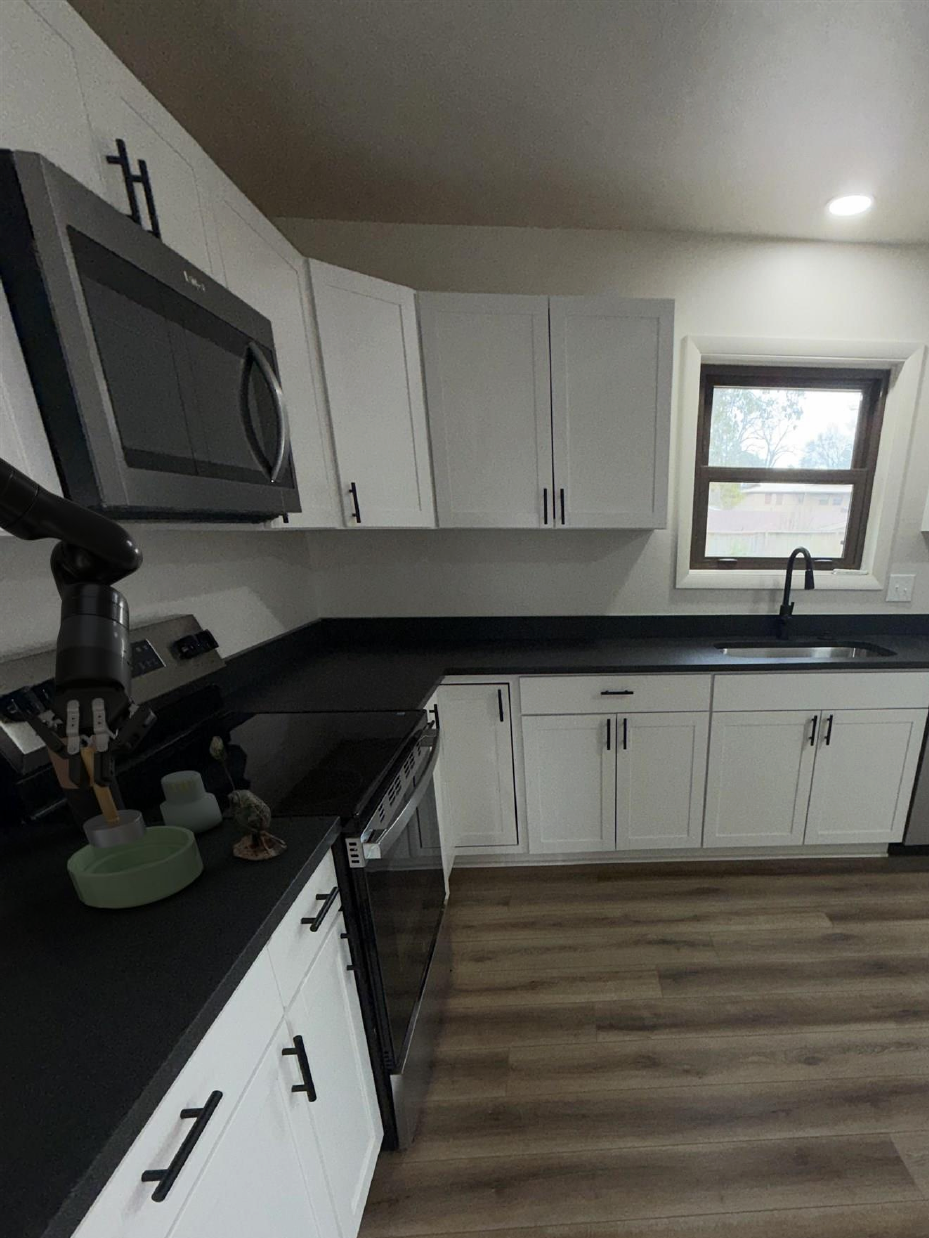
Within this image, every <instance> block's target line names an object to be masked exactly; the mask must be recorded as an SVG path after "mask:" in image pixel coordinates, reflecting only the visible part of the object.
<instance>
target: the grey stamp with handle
mask: <svg viewBox="0 0 929 1238" xmlns="http://www.w3.org/2000/svg"><path fill="white" fill-rule="evenodd" d="M94 753H96V751H95V750H94V749H93V748H92V747H84V748H83V749H82V750H81V755H82V758H83V761H84V763H85V766H86V769H87V771H88V774H89V777H90V780H91V782H92V785H93V788H94V790H95V793H96V796H97V799H98V801H99V804H100V807H101V809H102V812H103V814H101V815H98V816H96V817H94V818H91V819H90V820H88V821H87V822H85V823H84V825H83V828H84V831H85V833H84V834H85V836H86V838H87V841H88V843H89V844H90V845H91V846H93V847H97V848H108V847H115V846H120V845H124V844H127V843H130V842H133V841H135V840H137V839H139V838H141V837H142V836H144V835H145V834H146V832H147V829H146V827H147V826H146V824H145V821H144V818H143V814H142V812H141V811H139V810H136V809H125V810H119V811H117V810H116V807H115V804H114V802H113V799H112V796H111V793H110V790H109V788H108V787H102V788H101V787H100V786H98V785H97V784H96V783H95V782H94V779H93V775H94Z"/></svg>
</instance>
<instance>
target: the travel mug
mask: <svg viewBox="0 0 929 1238" xmlns="http://www.w3.org/2000/svg"><path fill="white" fill-rule="evenodd" d="M56 724H57V730H56V731H54V732H55V734H56V735H57V736H58V737H59V738H60V740H61V741H62V742H63V743H64V744H65V745H68V736H67V734H66V727H67V726H66V725H65V724H64V723H63V722H62V721H61V720H59V719H57V721H56ZM44 744H45V743H44ZM45 747H46V750H47V753H48V756H49V758H50V760H51V764H52V766H53V770H54V771H55V774H56V777H57V780H58V782H59V785H60V787H61V790H62V792H63V795H64V797H65V800H66V802H67V804H68V806H69V808H70V810H71V813H72V816H73V818H74V820H75V822H76V824H77V827H78V829H79V831H80V832H82V833H84V834H86V833H85V831H84V828H83V825H84V823H85V822H87V821H88V820H90V819H91V818H94V817H96V816H98V815H101V814H103V812H102V809H101V807H100V804H99V801H98V799H97V796H96V793H95V790H94V788H93V785H92V782H91V780H90V788H89V789H83V790H81V789H80V788H78V787H77V786H76V785H75V784H74V783H72V782H71V781H70V780H69V778H68V773H69V759H67V760H64V759H62V758H61V757H59V756H58V755H57V754H55V753H54V752H53V751H52V750H50V749H49V747H48V746H47V745H46V744H45ZM90 747H92V748H93V749H94V750H95V751H96V753H97V752H98V750H97V749H96V735H93V743H92V745H91V746H90ZM115 775H116V774H114V780H113V782H109V787H108V788H109V790H110V793H111V796H112V799H113V802H114V804H115V807H116V810H117V811H119V810H126V807H125V805H124V802H123V798H122V795H121V791H120V788H119V784H118V782H117V781H118V780H117V779H116V778H117V777H116V776H115Z"/></svg>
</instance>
